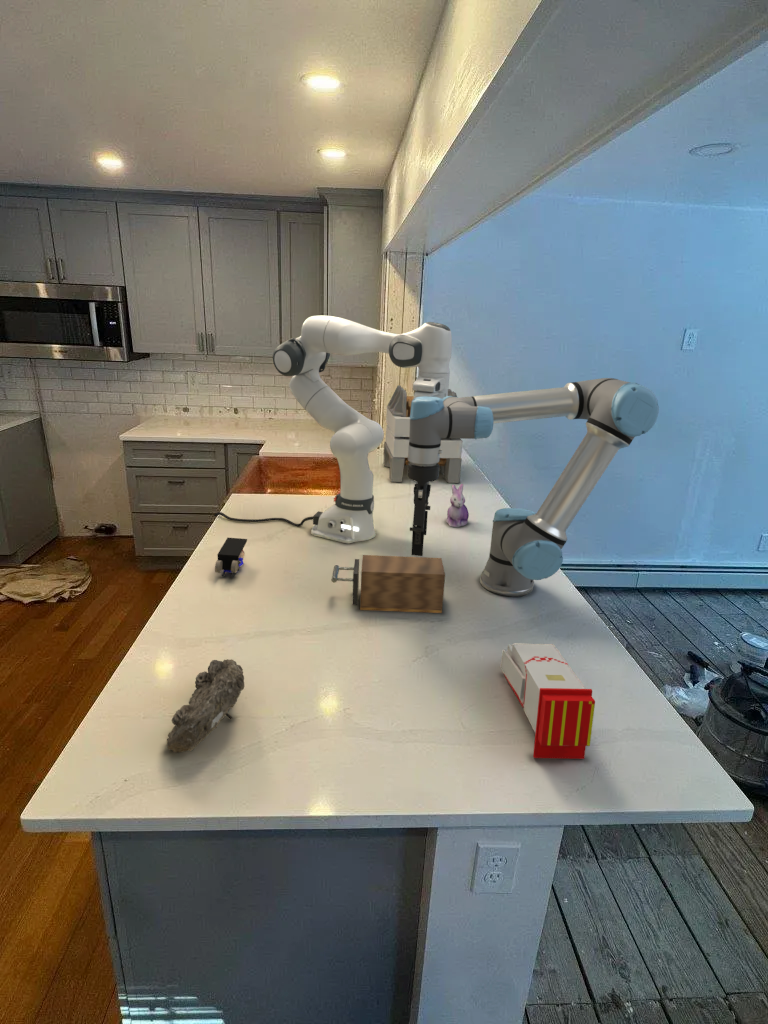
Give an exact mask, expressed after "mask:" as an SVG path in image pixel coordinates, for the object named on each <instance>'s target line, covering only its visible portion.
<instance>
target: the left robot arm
mask: <svg viewBox="0 0 768 1024" xmlns="http://www.w3.org/2000/svg"><path fill="white" fill-rule="evenodd" d="M452 347H453V337H452V331H451V328H450V327H449V326H447V325H446V324H443V323H439V322H435V321H426V322H424V323H423V324H422V325H421V326H419V327H417V328H415V329H412V330H410V331H406V332H403V333H395V332H388V331H384V330H379V329H376V328H373V327H370V326H367V325H364V324H362V323H359V322H357V321H353V320H351V319H347V318H344V317H340V316H339V317H338V316H333V315H321V314H320V315H311V316H309V317H307V318H306V319H305V320H304V322H303V323H302V325H301V330H300V336H298V337H291V338H289V339H288V340H286V341H283V342H282V343H281V344H279V345H278V346H277V347H275V349H274V351H273V352H272V363H273V366H274V368H275V369H276V371H277V372H278V373H279V374H281V375H282V376H284V377H291V378H290V380H289V384H288V388H289V390H290V392H291V394H292V395H293V397H294V398H295V399H296V401H297V403H298V404H299V405H300V406H301V407H302V408H303V409H304V410H305V412H307V413H308V414H309V415H310V416H311V417H312V419H314V420H315V421H316V423H317V424H319V426H320V427H322V428H323V429H326V430H328V431H331V432H333V433H334V434H332V436H331V438H330V441H329V448H330V451H331V454H332V455H333V456H334V457H335V458H336V460H337V463H338V468H339V474H340V475H339V476H340V490H339V491H338V492H337V494H336V495H335V496H334V497H333V502H334V504H333V505H331V506H329V507H328V508H326V509H325V510H323V511H317V512H316V513H315V514H314V515H313V516H307V517H305V518H303V519H302V520H301V522H299V523H295V522H293V521H291V520H290V519H287V518H284V517H269V518H268V517H267V518H259V519H252V518H251V519H248V518H247V519H246V518H235V517H231V516H229V515H227V514H225V513H224V512H221V511H217V512H216V513H215V514H214V515H213V517H218V516H222V517H223V518H225V519H227V520H228V521H232V522H241V523H265V522H272V521H273V522H275V521H278V522H279V521H280V522H284V523H287V524H289V525H291V526H294V527H302V526H303V525H304V524H305V522H307V521H310V520H312V525H313V526H312V528H311V530H310V533H311V536H315V537H319V538H323V539H326V540H330V541H336V542H339V543H343V544H352V543H357V542H365V541H368V540H372V539H373V538H375V537H376V535H377V532H376V528H375V523H374V513H373V512H374V509H375V496H374V473H373V471H372V470H371V469H370V465H369V457H368V456H369V454H370V453H372V452H374V451H376V450H377V449H378V448H379V447H380V446H381V444H383V442H384V439H385V433H384V429H383V427H382V426H381V424H380V423H379V422H377V421H375V420H372V419H370V418H368V417H366V416H365V415H364V414H362V413H360V412H359V411H357V410H356V409H355V408H353V407H352V406H351V405H349V404H348V403H346V402H345V400H343V399H342V398H341V397H340V396H339V395H338V394H337V393H336V392H335V391H334V390H333V389H332V388H331V387H330V386H329V385H328V384H327V383H326V382H325V381H324V380H323V379H322V378H321V375H320V373H322V372H324V371H325V369H326V366H327V364H328V361H329V359H330V357H331V355H336V356H356V355H362V354H369V353H384V354H388V355H389V359H390V362H392V363H393V365H394V366H396V367H399V368H402V369H408V368H409V369H410V368H418V376H417V378H416V379H415V381H414V382H413V383H412V390H413V391H414V393H413V396H414V398H416V397H422V396H429V397H438V398H441V399H443V398H444V397H447V396H448V389H450V388H449V386H450V374H451V369H450V361H451V359H452V352H453V351H452Z"/></svg>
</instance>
